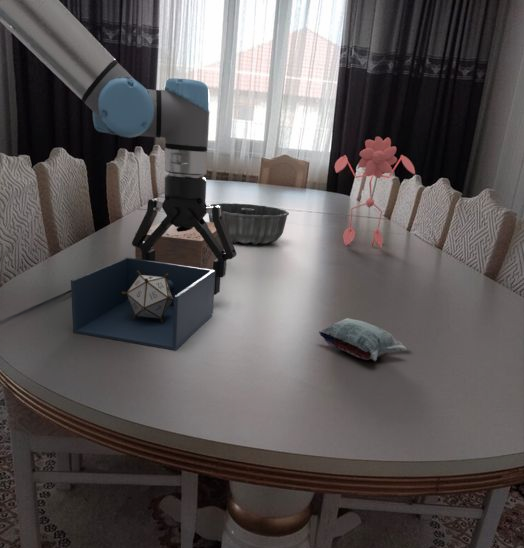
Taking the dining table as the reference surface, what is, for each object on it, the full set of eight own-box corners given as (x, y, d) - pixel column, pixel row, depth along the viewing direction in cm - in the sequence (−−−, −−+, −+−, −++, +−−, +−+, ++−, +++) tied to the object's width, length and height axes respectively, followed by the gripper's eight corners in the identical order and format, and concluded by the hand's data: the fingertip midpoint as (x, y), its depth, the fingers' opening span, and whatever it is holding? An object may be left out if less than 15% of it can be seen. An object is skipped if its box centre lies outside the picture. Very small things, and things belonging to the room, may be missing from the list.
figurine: (322, 241, 180) (336, 132, 167) (394, 247, 183) (414, 140, 170) (330, 250, 166) (347, 132, 153) (408, 256, 169) (431, 141, 155)
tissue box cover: (169, 256, 137) (170, 217, 133) (223, 262, 136) (225, 224, 132) (135, 279, 113) (135, 233, 110) (199, 287, 112) (202, 241, 108)
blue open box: (176, 350, 79) (177, 296, 76) (72, 332, 82) (70, 280, 78) (229, 299, 106) (232, 258, 103) (150, 287, 109) (151, 246, 106)
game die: (138, 337, 91) (113, 285, 91) (182, 317, 93) (158, 267, 93) (141, 329, 82) (113, 272, 82) (189, 308, 85) (162, 253, 85)
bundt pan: (198, 243, 157) (200, 209, 153) (210, 229, 181) (211, 199, 177) (285, 252, 157) (289, 218, 153) (285, 237, 181) (288, 207, 177)
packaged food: (350, 336, 92) (354, 309, 90) (405, 360, 84) (411, 331, 82) (315, 345, 87) (319, 317, 85) (370, 371, 79) (375, 341, 77)
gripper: (112, 169, 93) (115, 283, 101) (247, 183, 89) (238, 302, 97) (131, 167, 100) (132, 275, 108) (257, 181, 95) (248, 292, 103)
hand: (182, 288), depth 102 cm, fingers open, 13 cm apart
